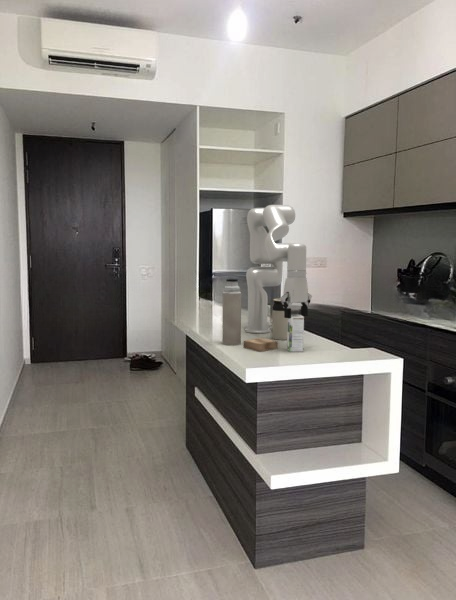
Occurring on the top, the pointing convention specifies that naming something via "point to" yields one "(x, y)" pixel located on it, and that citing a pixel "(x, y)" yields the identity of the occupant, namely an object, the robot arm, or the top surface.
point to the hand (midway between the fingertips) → (296, 317)
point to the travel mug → (279, 321)
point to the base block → (260, 344)
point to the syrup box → (295, 333)
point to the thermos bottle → (231, 313)
